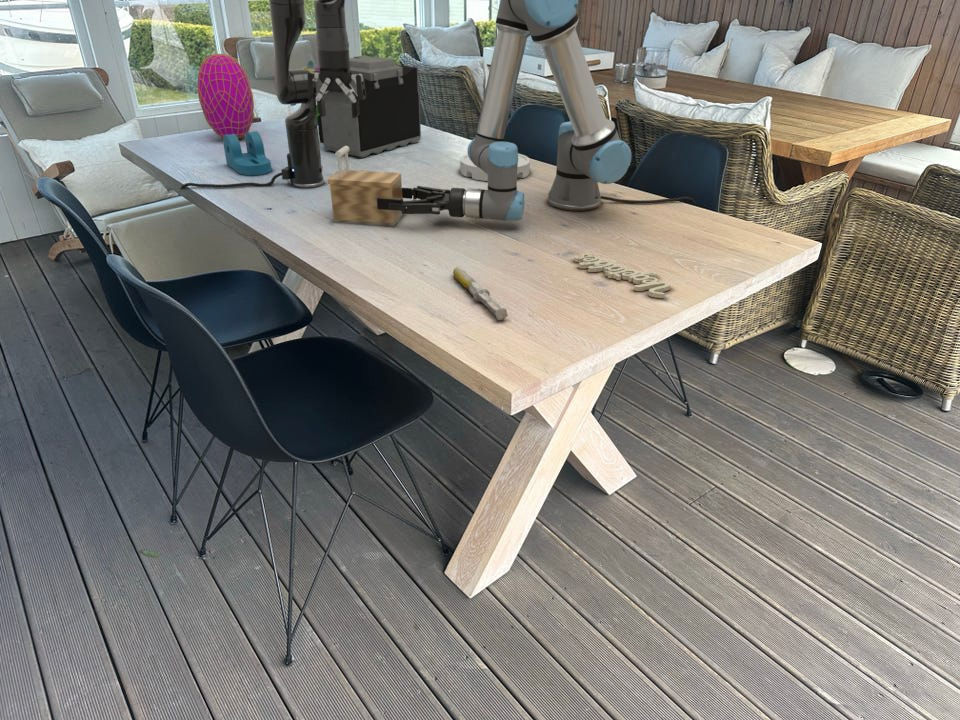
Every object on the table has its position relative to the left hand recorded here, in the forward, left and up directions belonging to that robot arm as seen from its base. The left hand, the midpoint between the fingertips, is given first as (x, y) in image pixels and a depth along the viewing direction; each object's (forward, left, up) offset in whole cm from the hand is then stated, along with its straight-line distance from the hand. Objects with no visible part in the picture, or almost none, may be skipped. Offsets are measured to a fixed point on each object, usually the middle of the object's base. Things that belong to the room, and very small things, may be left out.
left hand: (339, 116), depth 175 cm
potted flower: (-62, +109, -26) cm, 128 cm away
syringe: (+47, -40, -26) cm, 67 cm away
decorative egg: (-80, +73, -26) cm, 111 cm away
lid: (+6, 0, -16) cm, 17 cm away
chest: (+6, +1, -26) cm, 27 cm away
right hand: (+10, +1, -20) cm, 23 cm away
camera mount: (-51, +37, -26) cm, 68 cm away
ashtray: (+28, +56, -26) cm, 68 cm away
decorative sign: (+76, -20, -26) cm, 83 cm away
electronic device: (-24, +78, -26) cm, 85 cm away
